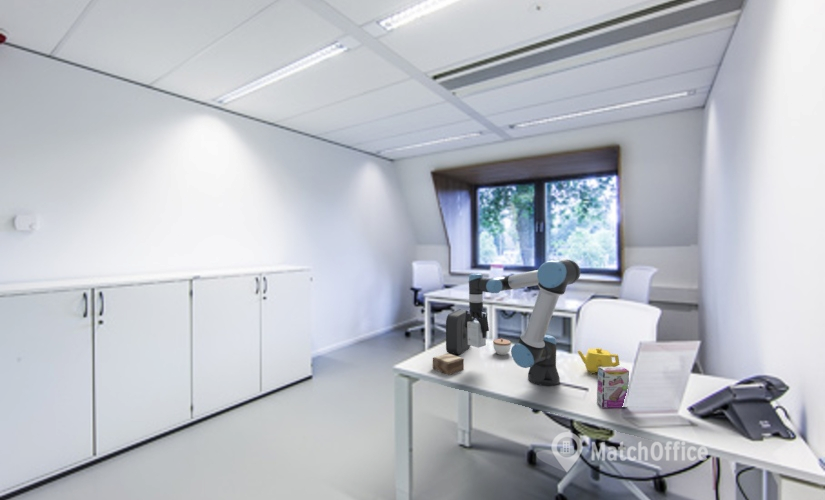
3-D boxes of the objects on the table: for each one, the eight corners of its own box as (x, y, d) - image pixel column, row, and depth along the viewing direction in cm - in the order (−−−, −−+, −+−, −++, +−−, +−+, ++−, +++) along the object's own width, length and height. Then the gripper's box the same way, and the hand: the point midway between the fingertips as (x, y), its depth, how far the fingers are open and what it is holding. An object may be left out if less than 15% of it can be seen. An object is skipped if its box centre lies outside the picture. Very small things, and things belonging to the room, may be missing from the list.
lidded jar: (512, 352, 220) (513, 337, 220) (507, 357, 211) (507, 342, 211) (496, 349, 226) (496, 335, 225) (490, 354, 217) (490, 339, 216)
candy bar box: (603, 409, 147) (603, 370, 147) (596, 403, 152) (596, 366, 152) (628, 408, 148) (629, 370, 147) (621, 403, 153) (622, 366, 152)
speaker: (462, 344, 237) (462, 307, 236) (474, 346, 233) (474, 309, 232) (445, 355, 216) (445, 315, 215) (458, 357, 211) (458, 316, 210)
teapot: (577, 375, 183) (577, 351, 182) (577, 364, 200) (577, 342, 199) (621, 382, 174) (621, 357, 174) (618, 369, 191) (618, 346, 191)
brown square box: (463, 369, 192) (463, 357, 192) (448, 375, 185) (448, 363, 184) (447, 363, 201) (447, 352, 201) (432, 368, 194) (432, 357, 193)
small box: (486, 345, 194) (485, 322, 194) (478, 347, 190) (478, 324, 190) (474, 342, 200) (474, 320, 200) (467, 344, 196) (466, 321, 196)
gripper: (495, 302, 189) (496, 344, 189) (466, 298, 205) (466, 337, 205) (486, 304, 184) (487, 347, 185) (457, 300, 200) (458, 339, 201)
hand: (476, 341), depth 195 cm, fingers closed on small box, 8 cm apart
